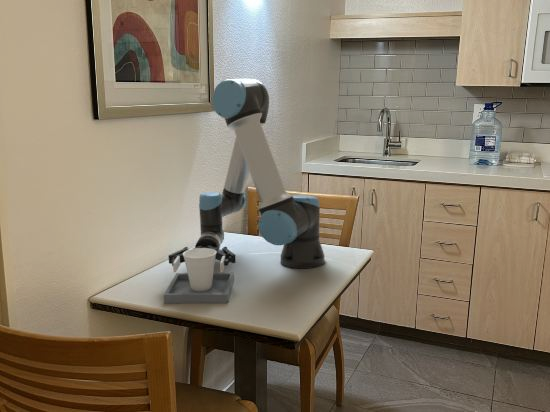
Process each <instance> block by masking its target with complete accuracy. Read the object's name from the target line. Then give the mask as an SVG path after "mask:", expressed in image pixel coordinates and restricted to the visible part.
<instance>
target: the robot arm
mask: <svg viewBox="0 0 550 412" xmlns="http://www.w3.org/2000/svg"><path fill="white" fill-rule="evenodd" d="M211 104H212V109H213V110H214V112H215V113H216V114H217V115H218V116H219V117H221V118H222V119H224V120H225V124H226V126H227V128H228V129H230V130H233V131H234V134H235V140H234V145H233V149H232V152H231V155H230V161H229V165H228V168H227V169H228V170H227V174H226V177H225V182H224V185H223V189H222V194H221V193H220V192H216V191H207V192H202V193H201V194H200V195H199V200H198V201H199V205H198V207H199V224H200V225H199V226H200V237H199V238H198V240H197V242H196V243H195V246H194V247H193V248H192V249H195V248H209V249H213V250H215V251H216V252H217V253H216V256H215V261H219V265H220V266H219V268H220V272H219V273H224V270H225V267H226V266H229V264H230V263H232V264H235V263H236V254H235V253H234V252H233V251H231V250H229V248H228V247H227V246H223V247H222V248H221V245H222V244H223V242H224V239H225V232H224V229H223V217H226V216H228V215H231V214H234V213H238V212H239V211H240V210H242V209H244V208H245V207H246V206H247V205H246V204H247V196H246V194H245V190H246V187H247V182H248V179H249V175H250V177H251V180H252V181H253V184H254V186H255V187H254V188H255V189H256V192H257V195H258V198H259V200H260V203H259V205H258V207H257V209H258V212H259V215H260V217H259V219H258V223H257V225H258V231H259V234H260V235H261V237H262V239H263V240H265V241H266V242H267V243H269V244H271V245H274V246H282V250H281V253H280V263H281V264H282V265H283V266H285V267H289V268H295V269H311V268H316V267H319V266H321V265H323V264H324V263H325V261H326V259H325V252H324V249H323V247H322V243H321V241H320V240H321V239H320V220H321V219H320V216H321V215H320V211H321V210H320V209H321V206H320V199H319V198H318V197H316V196H313V195H303V194H301V195H300V194H290V193H287V190H286V189H285V185H284V183H283V180H282V177H281V175H280V173H279V169H278V167H277V164H276V161H275V158H274V156H273V152H272V150H271V148H270V145H269V143H268V140H267V137H266V135H265V132H264V128H263V125H265V124H266V121H267V118H268V115H269V114H268V113H269V110H270V109H269V108H270V94H269V92H268V90H267V87H266V86H265V85H264V83H262V82H261V81H259V80H257V79H254V78H228V79H225V80H222V81H220V82H219V83H218V84H216V86H215V88H214V89H213V93H212V97H211ZM220 248H221V249H220ZM187 250H190V249H189V247H188V246H185V247H183V248H182V249H179V250H177V251H175V252H173V253H171V254H169V255H168V264H171V266H172V268H173V273H177V271H178V270H179V267H180V266H181V264H183V263H185V260H184V256H183V253H184V252H185V251H187Z"/></svg>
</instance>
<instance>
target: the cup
mask: <svg viewBox="0 0 550 412" xmlns="http://www.w3.org/2000/svg"><path fill="white" fill-rule="evenodd" d="M194 248H195V247H194ZM216 253H217V252H216V251H215V250H213V249H209V248H195V249H193V248H191V249H189V250H187V251H185V252H184V253H183V256H184V260H185V262H184V264H185V267H186V273H188V277H189V281H190V286H191V289H193V290H194V291H206V290H209V289H210V288H211V287H212V279H213V273H214V271H215V264H216V260H215V256H216Z"/></svg>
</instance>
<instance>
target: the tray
mask: <svg viewBox="0 0 550 412" xmlns="http://www.w3.org/2000/svg"><path fill="white" fill-rule="evenodd" d="M234 275H235V273H234V272H213V279H212V287H211V288H210V289H209V290H206V291H194V290H193V289H191V286H190V281H189V277H188V273H187V272H184V273H182V272H180V273H178V272H175V275H174V277H173V278H172V280H171V282H170V284H169V285H168V287H167V288H166V290H165V292H164V293H163V304H220V303H221V304H222V303H223V304H227V303H229V300H230V296H231V293H232V289H233V286H234V282H235V276H234Z"/></svg>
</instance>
